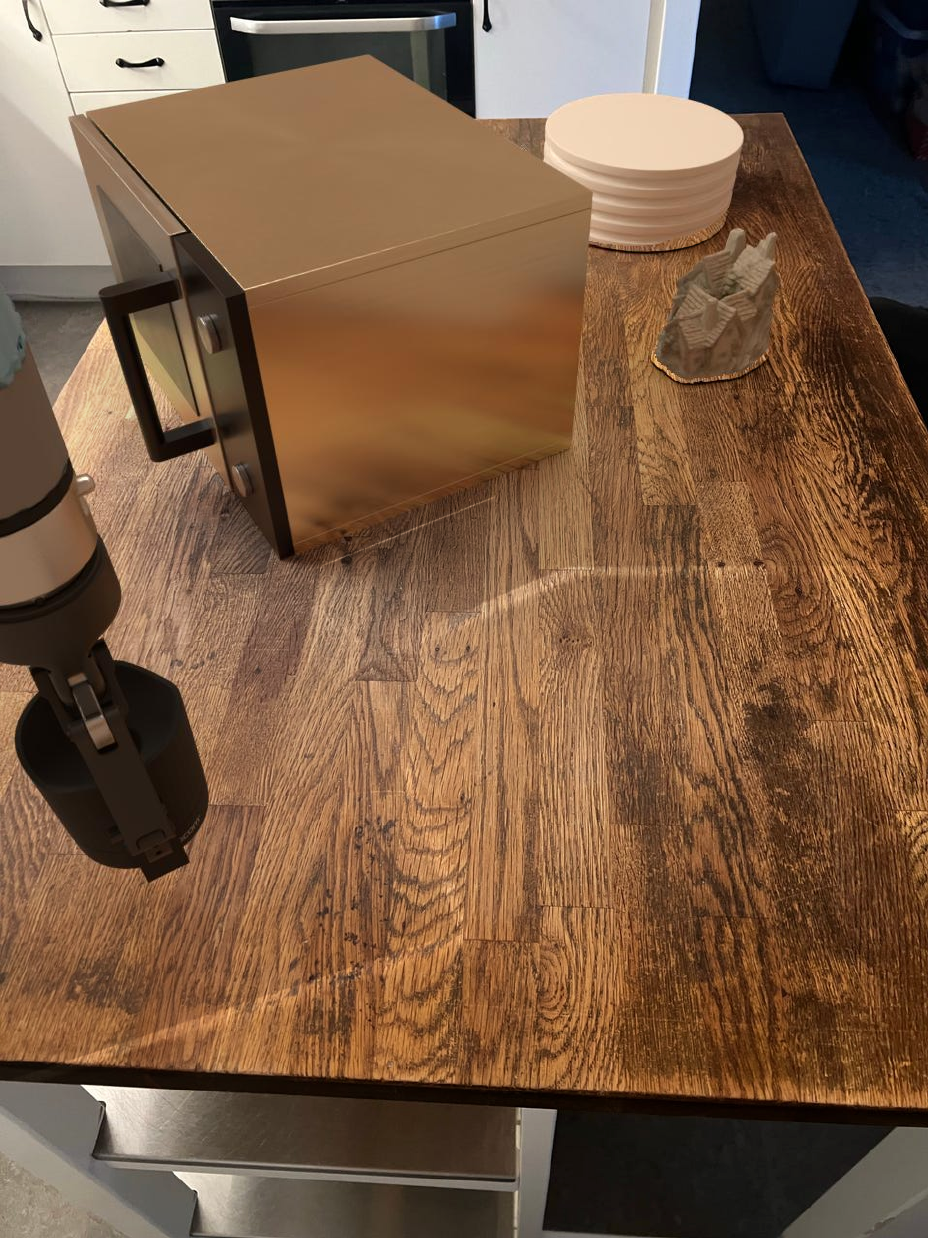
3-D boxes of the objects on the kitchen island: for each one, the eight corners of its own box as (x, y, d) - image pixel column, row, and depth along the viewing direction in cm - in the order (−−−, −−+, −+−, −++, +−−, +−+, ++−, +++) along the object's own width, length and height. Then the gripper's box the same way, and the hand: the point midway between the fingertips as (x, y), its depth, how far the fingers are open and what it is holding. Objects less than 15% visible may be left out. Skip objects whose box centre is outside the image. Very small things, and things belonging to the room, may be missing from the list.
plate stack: (742, 253, 136) (761, 170, 127) (544, 251, 136) (550, 168, 127) (710, 170, 155) (725, 93, 146) (536, 168, 155) (541, 91, 146)
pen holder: (73, 898, 59) (15, 810, 51) (65, 775, 65) (12, 681, 57) (227, 852, 61) (193, 761, 53) (205, 737, 67) (171, 642, 59)
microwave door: (171, 513, 99) (91, 254, 78) (85, 368, 117) (3, 129, 97) (245, 486, 101) (186, 230, 81) (150, 349, 120) (83, 113, 100)
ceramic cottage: (723, 300, 126) (741, 188, 115) (792, 369, 116) (820, 253, 105) (615, 329, 124) (623, 218, 112) (677, 402, 113) (692, 288, 102)
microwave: (273, 564, 93) (214, 298, 73) (133, 355, 119) (61, 115, 99) (571, 447, 106) (593, 191, 85) (386, 281, 131) (368, 53, 111)
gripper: (172, 676, 41) (261, 917, 57) (43, 420, 54) (146, 677, 70) (-9, 751, 38) (138, 981, 55) (-99, 464, 51) (42, 720, 68)
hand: (143, 810), depth 62 cm, fingers closed on pen holder, 9 cm apart
